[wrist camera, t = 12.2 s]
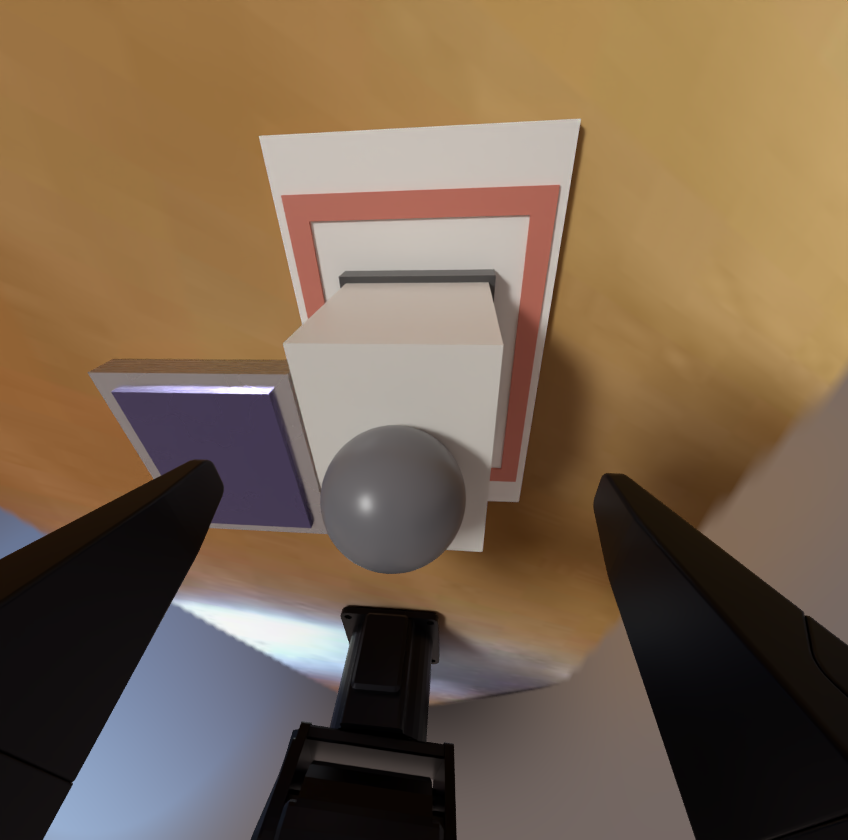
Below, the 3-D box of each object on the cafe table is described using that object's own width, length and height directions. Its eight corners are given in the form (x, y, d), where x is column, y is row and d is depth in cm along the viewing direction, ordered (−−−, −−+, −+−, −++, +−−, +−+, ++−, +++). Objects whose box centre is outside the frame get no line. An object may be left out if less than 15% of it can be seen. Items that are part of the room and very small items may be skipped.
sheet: (517, 497, 17) (518, 503, 17) (343, 490, 18) (340, 496, 18) (577, 119, 9) (582, 118, 9) (263, 136, 10) (257, 135, 10)
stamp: (493, 269, 11) (538, 409, 5) (480, 440, 15) (495, 653, 8) (345, 271, 12) (190, 401, 5) (369, 437, 16) (298, 637, 9)
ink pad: (337, 515, 19) (329, 538, 18) (197, 509, 20) (180, 530, 19) (299, 360, 14) (284, 377, 13) (112, 359, 15) (81, 375, 14)
